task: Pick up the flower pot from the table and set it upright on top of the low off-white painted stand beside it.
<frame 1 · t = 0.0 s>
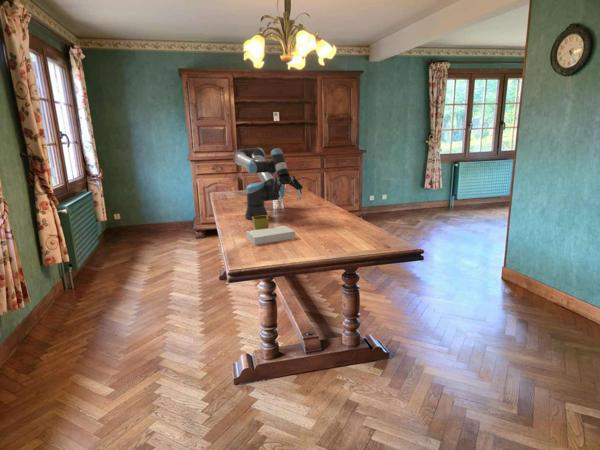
hand: (291, 200, 242), 15 cm above the table, tool tilted 35°, fingers open, 13 cm apart
white stand: (270, 238, 218), on the table
flower pot: (261, 232, 231), on the table
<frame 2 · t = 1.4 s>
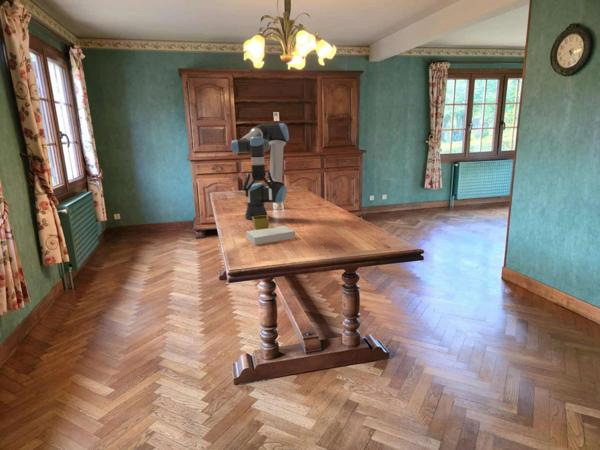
hand: (259, 201, 226), 19 cm above the table, tool pointing down, fingers open, 13 cm apart
nothing on the table moved.
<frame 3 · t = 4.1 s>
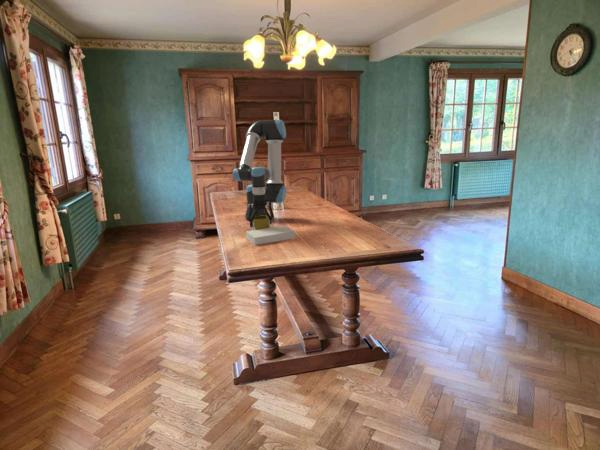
hand: (261, 230, 231), 1 cm above the table, tool pointing down, fingers closed on flower pot, 9 cm apart
flower pot: (261, 232, 231), on the table, touching gripper
when the fingers open (6 cm above the table, at t = 10.2 s): flower pot drops 1 cm, resting on white stand.
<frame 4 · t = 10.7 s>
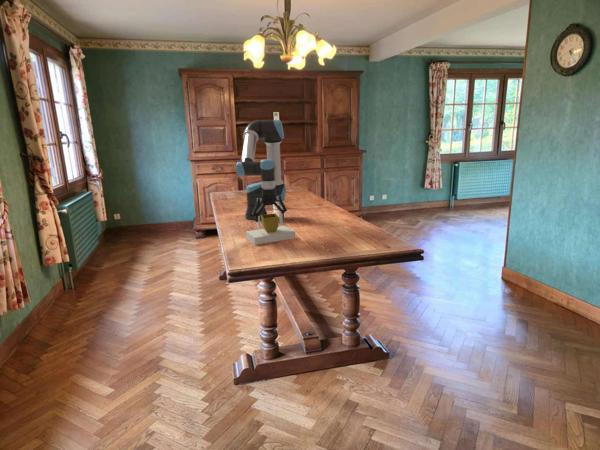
hand: (270, 225, 216), 7 cm above the table, tool pointing down, fingers open, 13 cm apart
flower pot: (270, 231, 217), point 4 cm above the table, touching white stand
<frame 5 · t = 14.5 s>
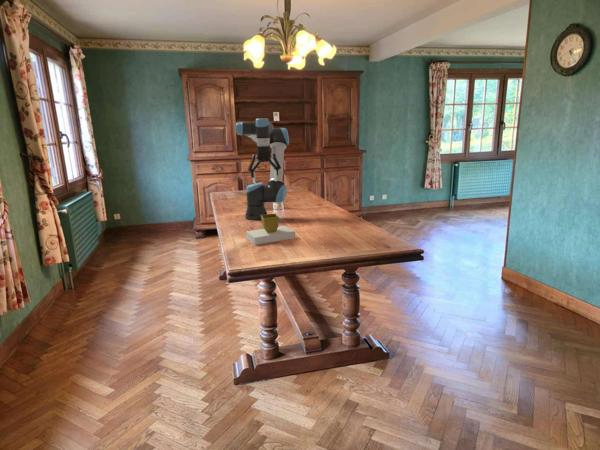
hand: (265, 182, 230), 29 cm above the table, tool pointing down, fingers open, 13 cm apart
nothing on the table moved.
at the end: flower pot inside the target area on the white stand (0.1 cm from its centre), point 3.8 cm above the white stand's base; flower pot tilted 0°; the gripper is holding nothing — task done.
